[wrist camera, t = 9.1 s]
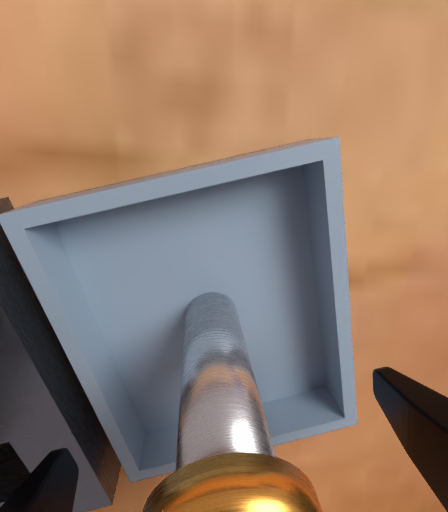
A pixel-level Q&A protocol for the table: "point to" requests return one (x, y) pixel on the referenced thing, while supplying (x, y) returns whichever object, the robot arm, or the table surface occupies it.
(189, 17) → the table surface
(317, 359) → the tray
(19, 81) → the table surface
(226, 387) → the lock pin
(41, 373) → the grey holder base
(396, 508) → the table surface
